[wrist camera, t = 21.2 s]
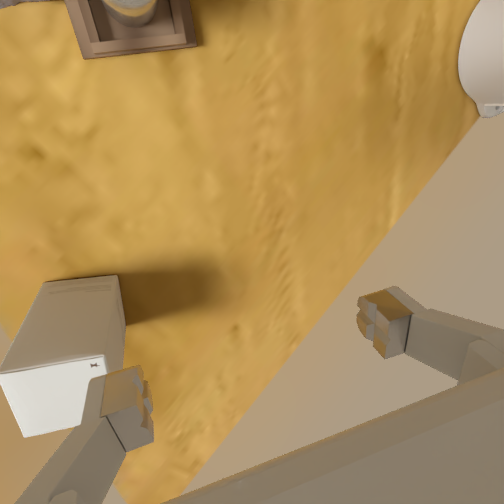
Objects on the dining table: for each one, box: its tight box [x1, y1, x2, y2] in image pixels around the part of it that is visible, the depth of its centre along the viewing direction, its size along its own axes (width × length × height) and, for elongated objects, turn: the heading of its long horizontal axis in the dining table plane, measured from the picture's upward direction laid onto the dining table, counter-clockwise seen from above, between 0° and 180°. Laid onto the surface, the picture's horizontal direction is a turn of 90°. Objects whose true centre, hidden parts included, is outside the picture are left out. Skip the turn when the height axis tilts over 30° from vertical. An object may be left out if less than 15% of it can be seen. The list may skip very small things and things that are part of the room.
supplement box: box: [0, 275, 126, 438], centre depth 36 cm, size 9×9×15 cm
